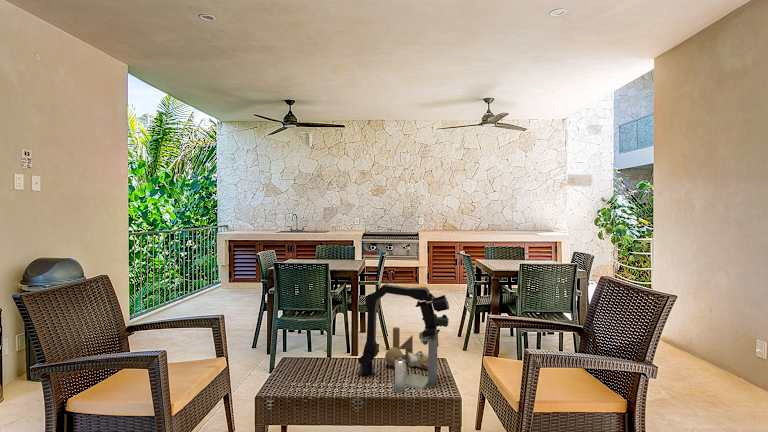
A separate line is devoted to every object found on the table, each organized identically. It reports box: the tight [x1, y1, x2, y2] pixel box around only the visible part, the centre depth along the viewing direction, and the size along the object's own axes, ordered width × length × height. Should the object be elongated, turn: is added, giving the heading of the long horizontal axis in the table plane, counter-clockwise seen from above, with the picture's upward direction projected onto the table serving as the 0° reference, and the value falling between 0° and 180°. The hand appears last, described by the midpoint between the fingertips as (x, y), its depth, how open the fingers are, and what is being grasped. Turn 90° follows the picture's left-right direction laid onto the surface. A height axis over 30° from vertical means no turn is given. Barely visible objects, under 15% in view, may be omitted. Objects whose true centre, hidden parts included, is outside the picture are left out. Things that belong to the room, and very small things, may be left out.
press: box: [405, 331, 438, 390], centre depth 208 cm, size 16×19×23 cm
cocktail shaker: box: [394, 357, 407, 393], centre depth 201 cm, size 5×5×14 cm
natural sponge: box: [384, 346, 404, 368], centre depth 234 cm, size 9×9×10 cm
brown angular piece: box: [392, 326, 414, 364], centre depth 243 cm, size 4×11×18 cm, turn 82°
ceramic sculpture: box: [408, 350, 428, 370], centre depth 233 cm, size 11×9×15 cm
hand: (437, 346), depth 212 cm, fingers closed, pressing on press
